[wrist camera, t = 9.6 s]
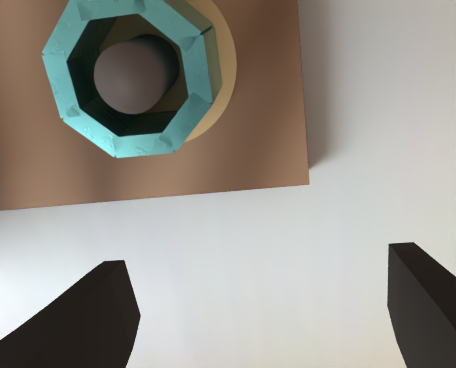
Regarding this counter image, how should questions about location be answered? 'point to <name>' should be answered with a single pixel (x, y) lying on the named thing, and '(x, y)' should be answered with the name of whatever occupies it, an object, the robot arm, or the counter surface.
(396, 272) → the robot arm
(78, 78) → the ring
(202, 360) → the counter surface
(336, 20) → the counter surface
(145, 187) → the board
